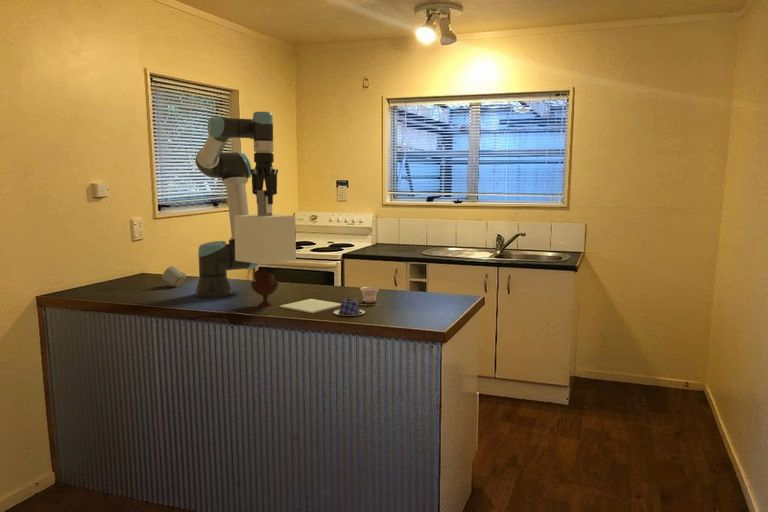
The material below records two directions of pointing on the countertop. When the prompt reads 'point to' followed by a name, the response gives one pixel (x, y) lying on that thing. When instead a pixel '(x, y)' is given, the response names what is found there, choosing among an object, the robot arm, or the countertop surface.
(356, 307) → the pudding
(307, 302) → the mat
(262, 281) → the ice cream bowl
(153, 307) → the countertop surface
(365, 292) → the teacup
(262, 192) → the cover
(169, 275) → the ceramic mug
